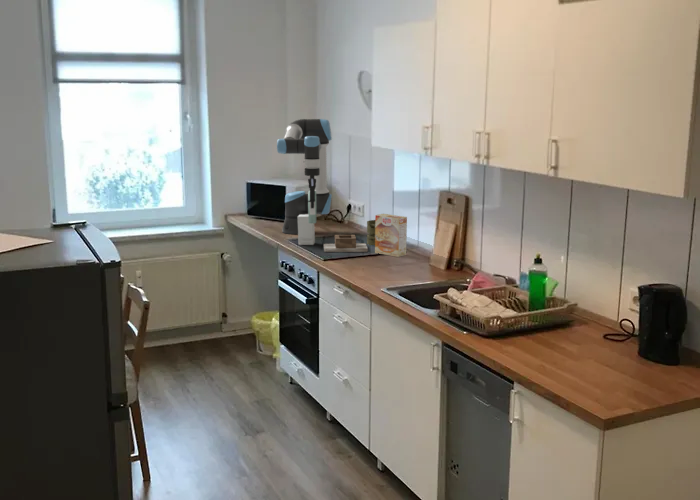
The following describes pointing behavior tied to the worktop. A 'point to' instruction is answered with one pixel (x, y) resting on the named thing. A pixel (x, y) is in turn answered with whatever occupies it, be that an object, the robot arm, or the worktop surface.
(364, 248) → the socket board
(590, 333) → the worktop surface
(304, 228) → the skincare box
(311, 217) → the peg
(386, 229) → the coffeecake box
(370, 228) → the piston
